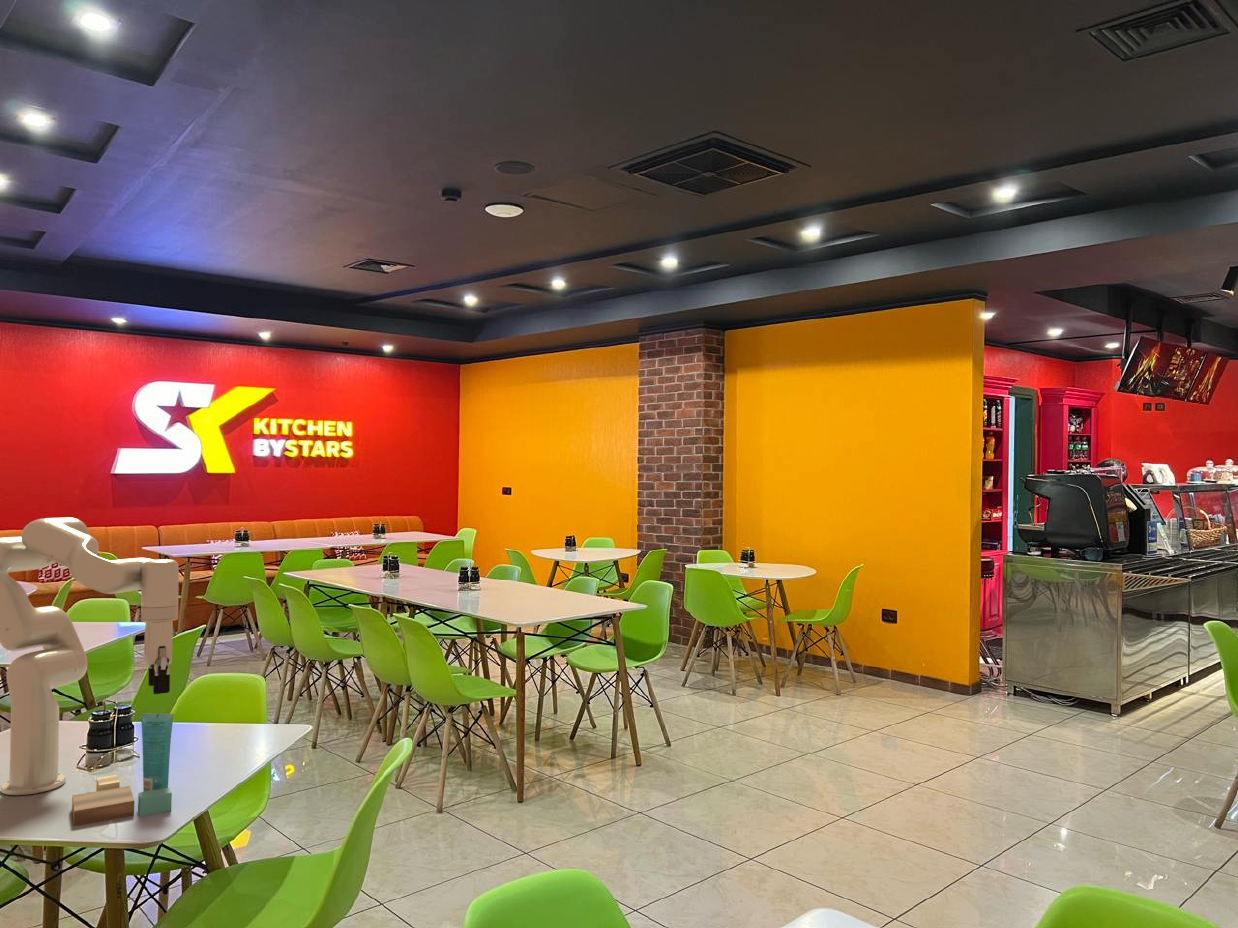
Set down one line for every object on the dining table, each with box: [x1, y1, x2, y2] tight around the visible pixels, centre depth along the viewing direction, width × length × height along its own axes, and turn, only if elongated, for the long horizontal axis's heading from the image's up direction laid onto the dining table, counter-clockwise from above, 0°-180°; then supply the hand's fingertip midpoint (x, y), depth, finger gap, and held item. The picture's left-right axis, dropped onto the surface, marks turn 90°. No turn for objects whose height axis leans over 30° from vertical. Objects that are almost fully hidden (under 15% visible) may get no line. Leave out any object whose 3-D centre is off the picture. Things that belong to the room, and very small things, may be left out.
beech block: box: [95, 774, 120, 792], centre depth 198 cm, size 6×4×4 cm, turn 36°
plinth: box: [71, 785, 135, 826], centre depth 189 cm, size 11×11×3 cm
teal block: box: [137, 787, 173, 817], centre depth 190 cm, size 6×4×4 cm, turn 125°
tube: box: [140, 712, 175, 792], centre depth 197 cm, size 7×5×19 cm, turn 96°
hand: (158, 688), depth 198 cm, fingers open, 9 cm apart
